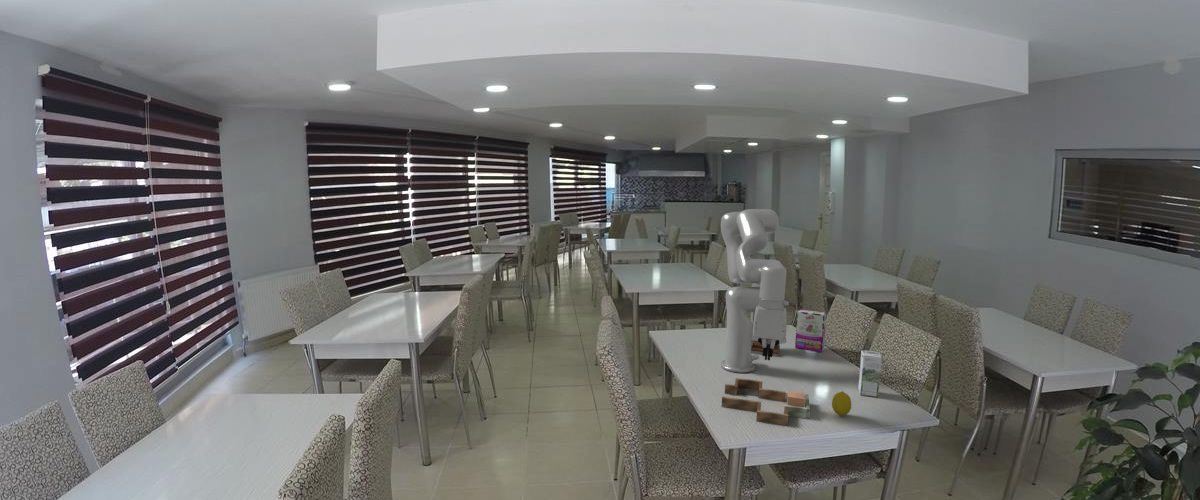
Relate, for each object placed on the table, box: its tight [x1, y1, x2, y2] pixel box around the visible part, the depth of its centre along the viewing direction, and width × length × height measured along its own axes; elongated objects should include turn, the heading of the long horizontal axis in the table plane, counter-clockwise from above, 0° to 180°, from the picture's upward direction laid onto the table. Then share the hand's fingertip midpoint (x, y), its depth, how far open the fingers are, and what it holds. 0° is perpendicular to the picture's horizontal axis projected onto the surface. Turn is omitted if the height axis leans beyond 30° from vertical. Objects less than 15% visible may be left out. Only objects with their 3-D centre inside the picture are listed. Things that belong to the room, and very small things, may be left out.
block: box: [786, 390, 805, 407], centre depth 175 cm, size 5×5×5 cm
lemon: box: [831, 391, 852, 417], centre depth 170 cm, size 6×6×8 cm
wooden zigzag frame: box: [721, 377, 811, 426], centre depth 178 cm, size 26×26×3 cm
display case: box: [750, 283, 781, 358], centre depth 229 cm, size 11×11×35 cm
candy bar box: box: [794, 309, 827, 354], centre depth 234 cm, size 11×5×16 cm, turn 58°
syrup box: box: [857, 349, 883, 398], centre depth 188 cm, size 6×6×14 cm
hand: (767, 358), depth 177 cm, fingers closed
